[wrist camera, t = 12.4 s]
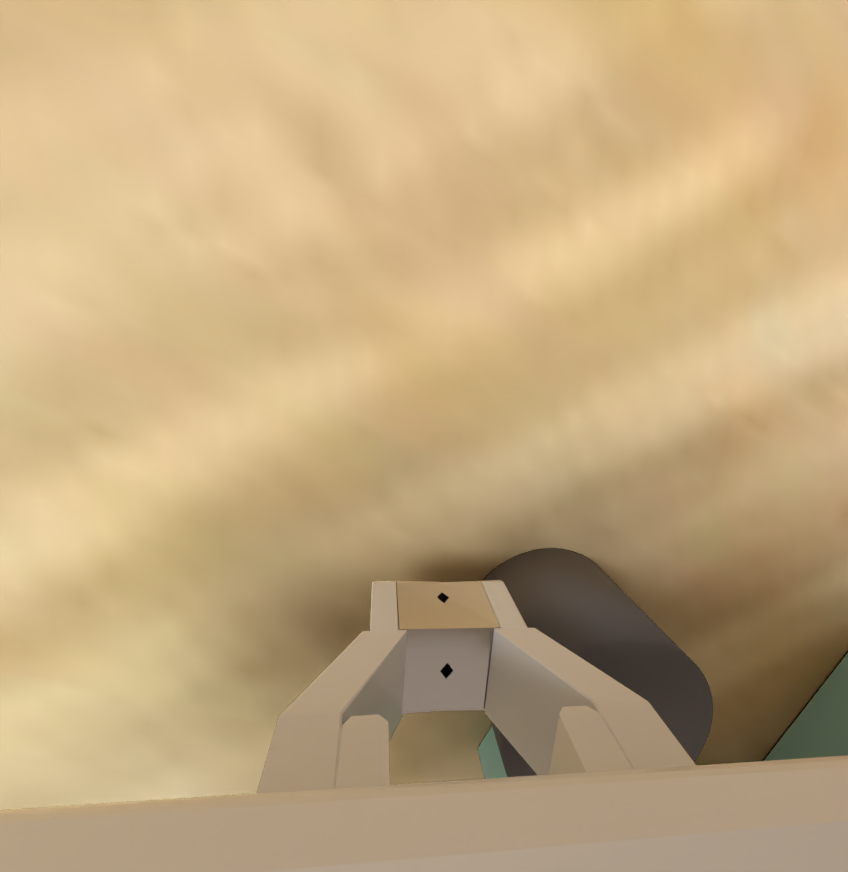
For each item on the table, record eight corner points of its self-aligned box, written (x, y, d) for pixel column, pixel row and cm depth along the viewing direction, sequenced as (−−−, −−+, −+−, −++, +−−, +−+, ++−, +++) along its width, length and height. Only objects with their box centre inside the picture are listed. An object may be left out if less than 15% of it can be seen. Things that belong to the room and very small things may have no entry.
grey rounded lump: (565, 701, 12) (637, 839, 9) (437, 656, 11) (462, 790, 8) (642, 582, 11) (753, 681, 8) (513, 524, 11) (576, 608, 7)
